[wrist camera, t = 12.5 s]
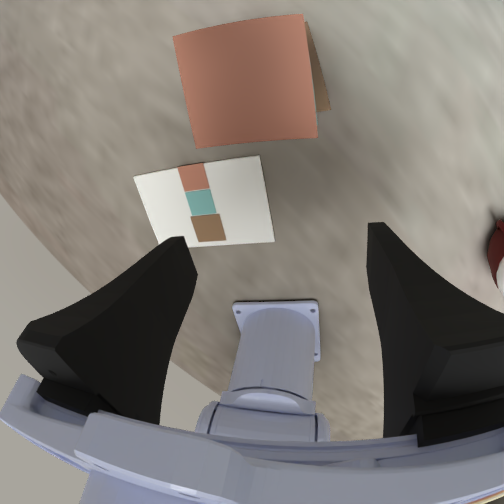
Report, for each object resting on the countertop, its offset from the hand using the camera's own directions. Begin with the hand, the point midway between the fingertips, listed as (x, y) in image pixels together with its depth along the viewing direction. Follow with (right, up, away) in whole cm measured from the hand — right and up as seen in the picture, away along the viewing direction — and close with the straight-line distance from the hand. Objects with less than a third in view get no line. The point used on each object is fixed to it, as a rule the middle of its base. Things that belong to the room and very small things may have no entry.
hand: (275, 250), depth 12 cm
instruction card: (-5, +3, +12) cm, 13 cm away
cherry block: (0, +7, -1) cm, 7 cm away
